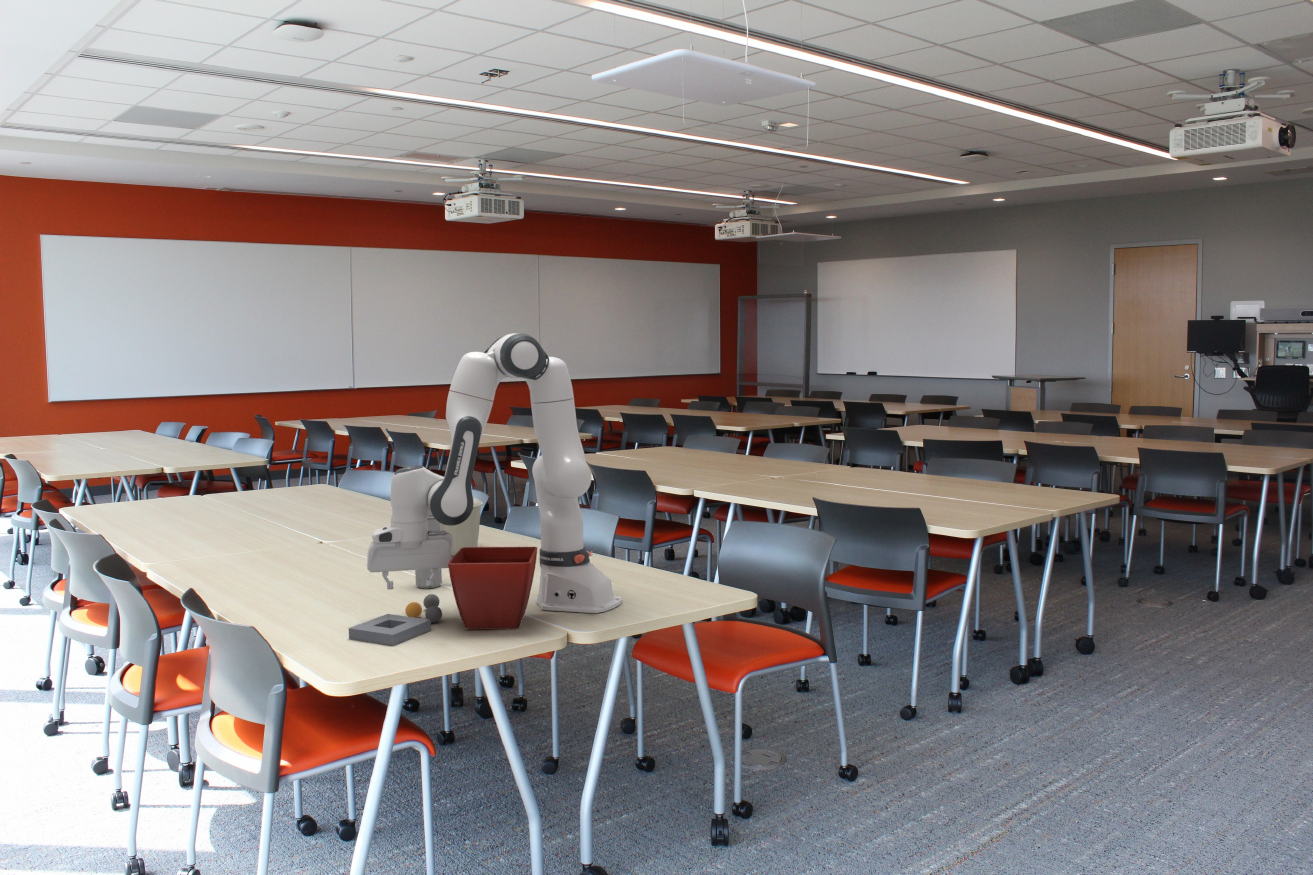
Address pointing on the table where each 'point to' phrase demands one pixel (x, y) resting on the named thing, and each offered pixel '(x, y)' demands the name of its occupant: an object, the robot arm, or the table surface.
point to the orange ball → (413, 609)
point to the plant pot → (492, 585)
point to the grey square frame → (389, 629)
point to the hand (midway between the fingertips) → (410, 587)
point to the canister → (465, 530)
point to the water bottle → (426, 573)
